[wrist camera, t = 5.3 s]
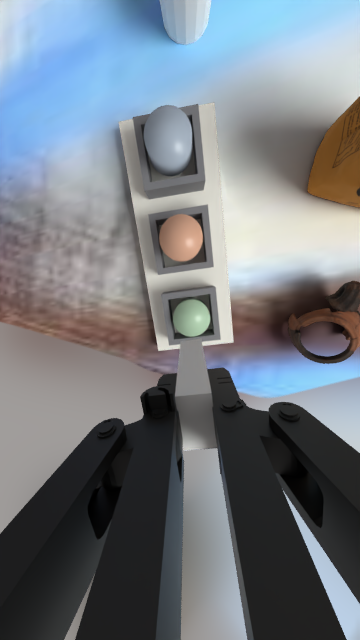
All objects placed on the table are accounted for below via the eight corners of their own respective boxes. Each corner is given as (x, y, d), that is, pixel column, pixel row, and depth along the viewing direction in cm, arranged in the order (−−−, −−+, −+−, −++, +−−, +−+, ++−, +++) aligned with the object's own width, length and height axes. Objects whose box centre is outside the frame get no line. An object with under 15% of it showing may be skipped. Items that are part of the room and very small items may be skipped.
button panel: (123, 132, 27) (109, 102, 22) (212, 114, 26) (217, 79, 21) (160, 346, 34) (155, 358, 29) (230, 338, 33) (238, 349, 28)
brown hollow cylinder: (343, 349, 33) (350, 379, 27) (282, 331, 37) (276, 354, 31) (383, 280, 28) (404, 297, 21) (306, 267, 32) (305, 279, 25)
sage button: (172, 299, 29) (170, 303, 26) (206, 295, 29) (208, 298, 26) (176, 332, 30) (175, 338, 27) (209, 328, 30) (212, 334, 27)
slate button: (145, 130, 23) (139, 110, 20) (188, 122, 23) (188, 100, 20) (153, 179, 24) (148, 167, 21) (194, 172, 24) (194, 158, 21)
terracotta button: (159, 224, 25) (155, 217, 22) (198, 217, 25) (200, 210, 22) (165, 264, 26) (162, 263, 23) (203, 259, 26) (205, 257, 23)
